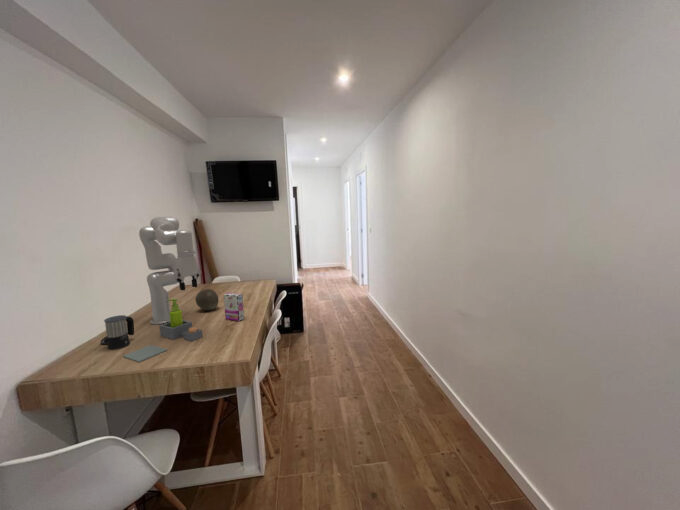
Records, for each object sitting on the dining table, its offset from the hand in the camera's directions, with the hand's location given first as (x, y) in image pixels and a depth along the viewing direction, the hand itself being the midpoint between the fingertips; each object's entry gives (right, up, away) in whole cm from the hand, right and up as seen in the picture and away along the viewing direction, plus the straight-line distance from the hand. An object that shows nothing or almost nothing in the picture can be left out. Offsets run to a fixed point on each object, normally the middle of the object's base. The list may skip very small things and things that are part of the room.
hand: (188, 288), depth 155 cm
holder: (-7, -27, +7) cm, 29 cm away
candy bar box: (+13, -24, +32) cm, 42 cm away
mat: (-14, -30, -14) cm, 36 cm away
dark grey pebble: (-13, -22, +52) cm, 57 cm away
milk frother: (-38, -29, -2) cm, 48 cm away
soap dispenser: (-12, -27, +10) cm, 31 cm away
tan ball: (+1, -25, +3) cm, 25 cm away
